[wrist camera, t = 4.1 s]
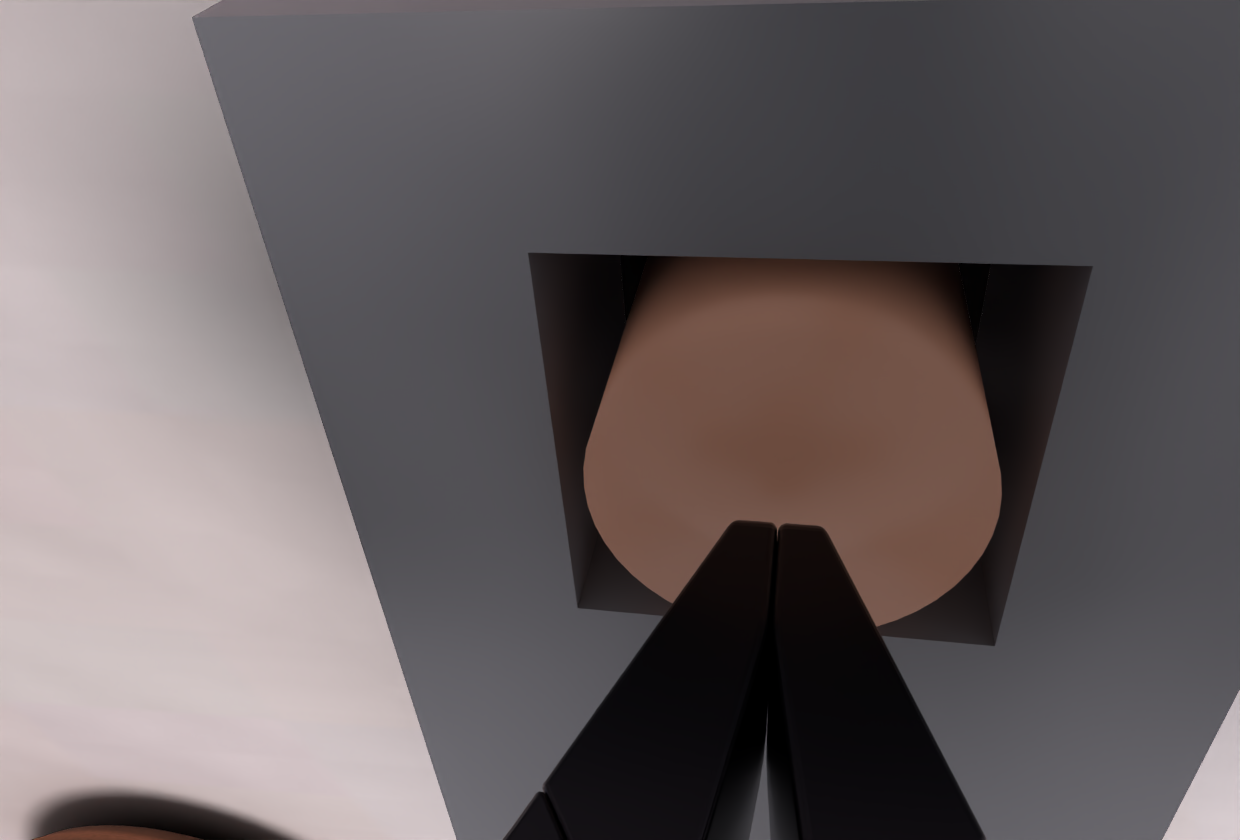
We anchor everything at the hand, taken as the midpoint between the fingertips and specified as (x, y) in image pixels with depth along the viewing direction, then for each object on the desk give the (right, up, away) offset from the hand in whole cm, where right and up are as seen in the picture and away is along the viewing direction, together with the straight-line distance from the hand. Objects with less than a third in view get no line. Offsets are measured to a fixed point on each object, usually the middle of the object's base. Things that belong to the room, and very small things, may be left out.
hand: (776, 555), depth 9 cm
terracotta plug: (+1, +3, +3) cm, 4 cm away
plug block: (+1, -2, +8) cm, 8 cm away
